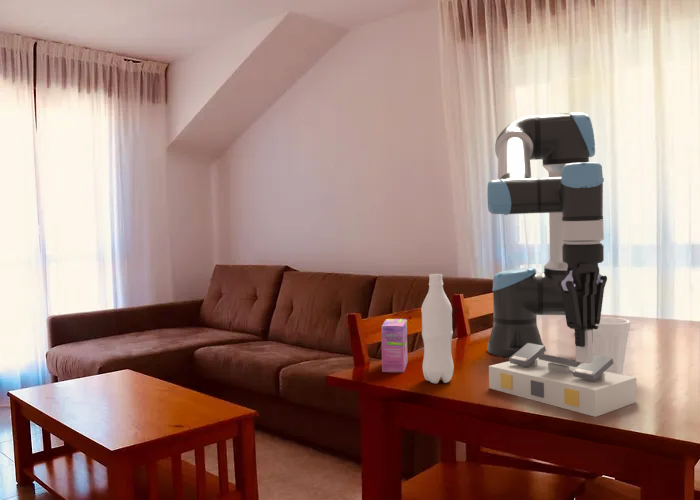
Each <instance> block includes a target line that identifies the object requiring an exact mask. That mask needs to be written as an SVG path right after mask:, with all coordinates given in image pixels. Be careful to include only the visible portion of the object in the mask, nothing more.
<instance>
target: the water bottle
mask: <svg viewBox="0 0 700 500" xmlns="http://www.w3.org/2000/svg"><path fill="white" fill-rule="evenodd" d="M428 277H429V281H428V282H429V283H428V286H429V287H428V290H427V291H428V292H427V294H426V296H425V298H424V299H423V302H422V304H421V308H420V310H421V311H420V312H421V337H422V341H423V351H424V353H423V361H422V374H423V376H424V379H425V380H426V381H427V382H430V383H432V384H438V383H439V382H440V380H442V382H443V383H444V384H446V383H449V382H450V381H451V380H452V377H453V375H454V370H455V369H454V361H453V356H452V340H453V334H454V331H453V316H452V315H453V307H452V303H451V302H450V300H449V298H448V297H447V294H446V293H445V290H444V280H443V274H442V273H430V274H429V276H428Z"/></svg>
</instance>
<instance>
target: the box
mask: <svg viewBox="0 0 700 500" xmlns="http://www.w3.org/2000/svg"><path fill="white" fill-rule="evenodd" d="M380 328H381V329H380V330H381V372H382V373H405V370H406V368H407V365H408V361H409V360H408V319H407V318H387V319H385V320H384V321H383V323H382V325H381V326H380Z"/></svg>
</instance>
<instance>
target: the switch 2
mask: <svg viewBox="0 0 700 500" xmlns="http://www.w3.org/2000/svg"><path fill="white" fill-rule="evenodd" d="M538 358H539V359H540V360H544V361H548V362H553V363H557V364H562V365H567V366H572V367H578V366H579V362H576V360H573V359H572V360H571V359H567V358H564V357H560V356H556V355H551V354H547V353H546V354H545V353H543V354H540V355H539V357H538Z"/></svg>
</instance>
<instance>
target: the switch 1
mask: <svg viewBox="0 0 700 500" xmlns="http://www.w3.org/2000/svg"><path fill="white" fill-rule="evenodd" d="M546 351H547V348H546V346H545V345H544V346H542V345H537V344H531V343H527V344H526V345H525V346H523V347H522V348H521V349H520V350H519V351H517V352H516V353H515V354H514V355H512V356H511V357H508V359H509V360H508V361H510V363H512V364H517V365H521V366H526V367H527V366H529V365H530V364H531V363H532V362H533V361H535V360H536V359H537V358H539V355H540V354H545V352H546Z"/></svg>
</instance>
